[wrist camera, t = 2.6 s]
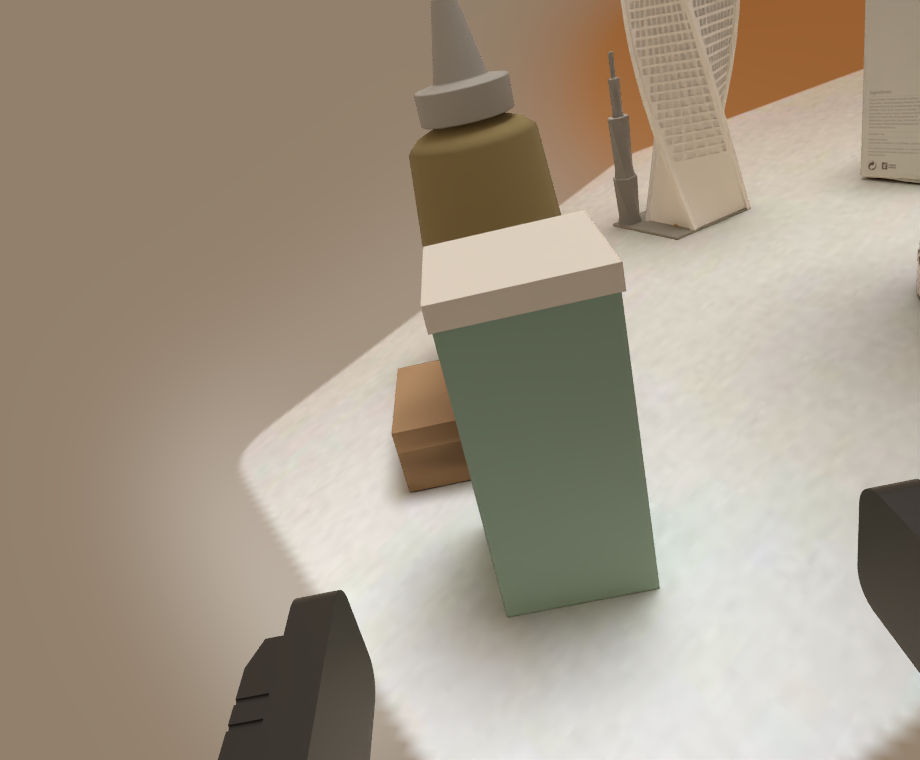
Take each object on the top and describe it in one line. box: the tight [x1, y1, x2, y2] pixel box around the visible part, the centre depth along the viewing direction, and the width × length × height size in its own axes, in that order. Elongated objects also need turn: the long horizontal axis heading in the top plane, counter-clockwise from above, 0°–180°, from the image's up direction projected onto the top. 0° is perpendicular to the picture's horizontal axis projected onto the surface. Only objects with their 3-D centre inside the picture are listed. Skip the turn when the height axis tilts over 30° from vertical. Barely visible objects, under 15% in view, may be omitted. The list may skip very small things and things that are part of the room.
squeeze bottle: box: [409, 0, 561, 247], centre depth 37 cm, size 8×8×18 cm
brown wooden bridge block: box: [392, 360, 471, 492], centre depth 33 cm, size 8×6×3 cm
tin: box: [421, 210, 660, 617], centre depth 23 cm, size 5×5×11 cm
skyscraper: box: [608, 0, 750, 240], centre depth 48 cm, size 8×8×28 cm
